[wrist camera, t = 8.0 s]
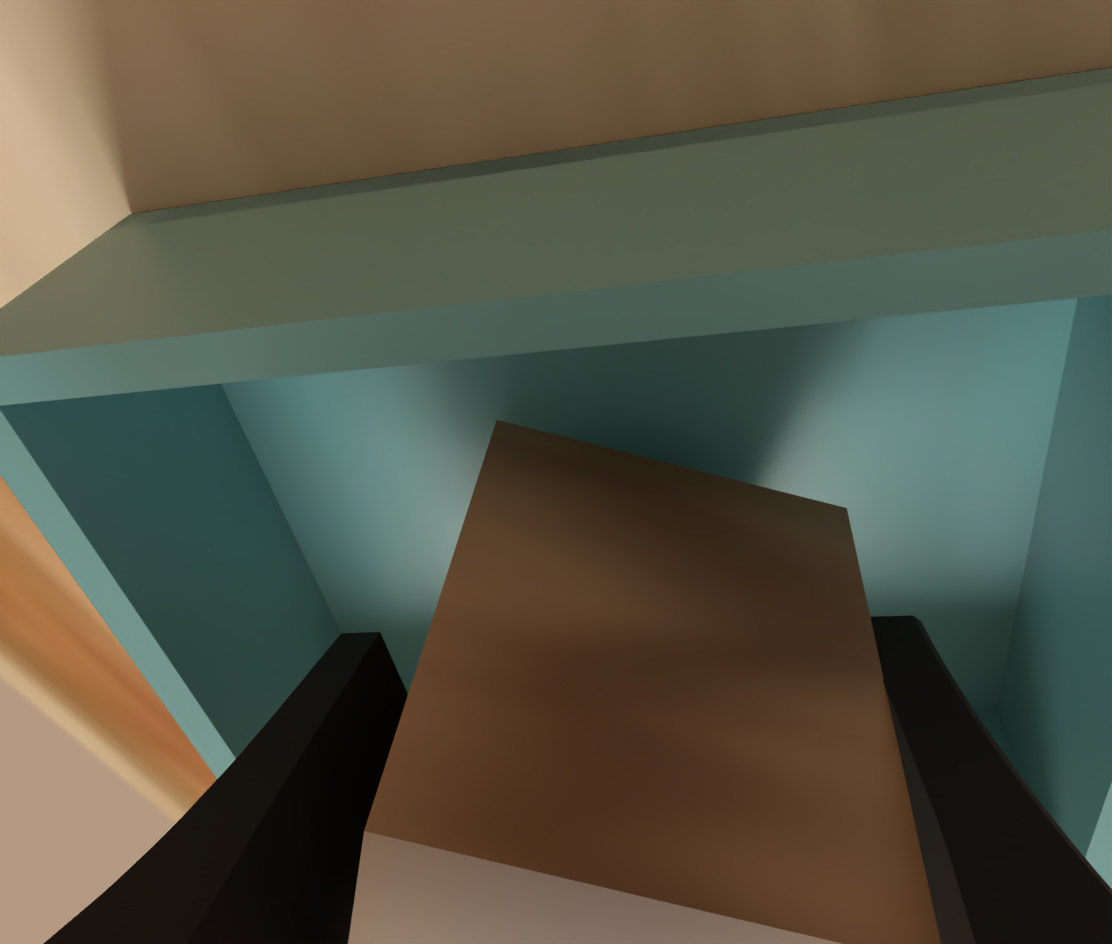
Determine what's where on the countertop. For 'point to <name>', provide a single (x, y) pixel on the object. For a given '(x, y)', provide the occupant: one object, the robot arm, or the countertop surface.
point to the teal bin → (605, 392)
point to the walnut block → (643, 723)
